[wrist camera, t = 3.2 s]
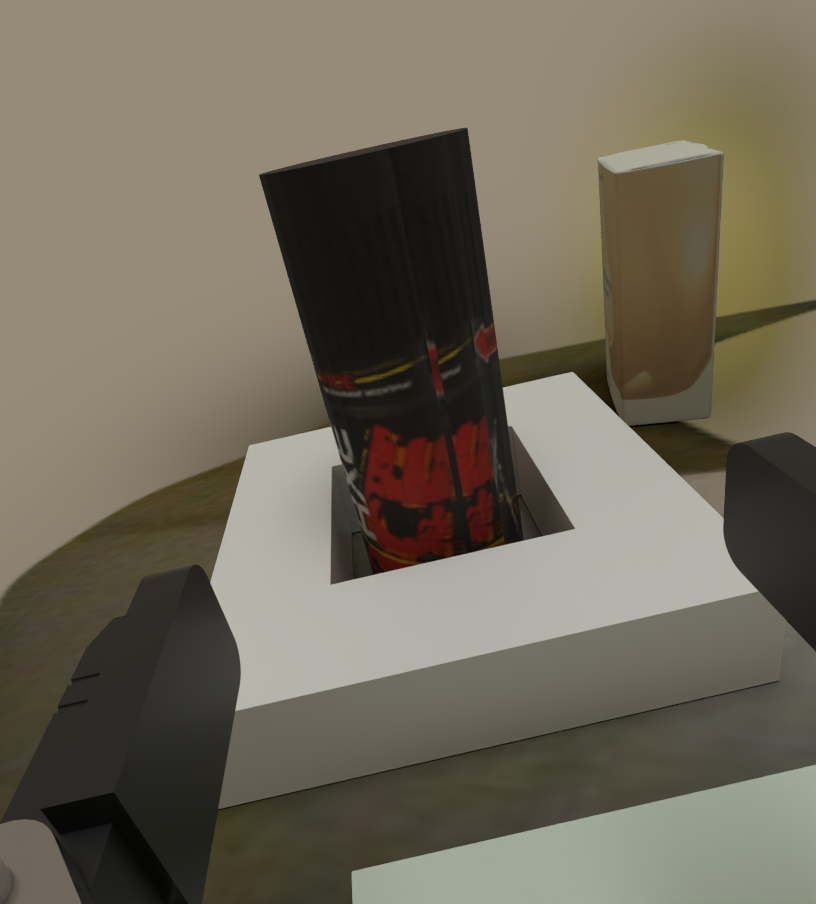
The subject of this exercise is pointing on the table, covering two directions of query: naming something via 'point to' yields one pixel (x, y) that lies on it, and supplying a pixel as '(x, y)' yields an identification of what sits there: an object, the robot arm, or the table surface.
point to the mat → (632, 855)
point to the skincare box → (660, 278)
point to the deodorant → (403, 342)
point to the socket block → (477, 607)
